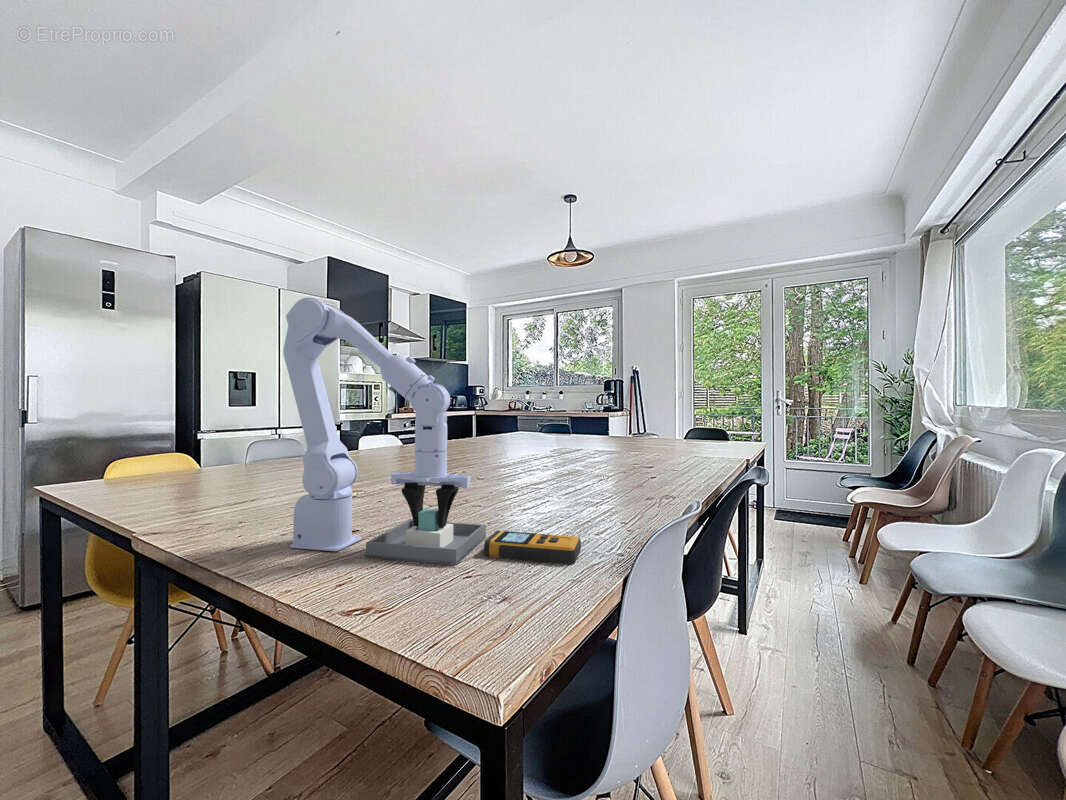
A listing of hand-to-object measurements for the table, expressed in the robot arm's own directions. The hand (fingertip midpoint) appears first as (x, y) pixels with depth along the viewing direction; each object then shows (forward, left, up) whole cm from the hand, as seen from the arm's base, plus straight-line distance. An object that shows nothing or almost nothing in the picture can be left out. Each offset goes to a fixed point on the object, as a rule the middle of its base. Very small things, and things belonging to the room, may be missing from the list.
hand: (430, 525), depth 88 cm
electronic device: (+19, +1, -4) cm, 20 cm away
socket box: (0, 0, -4) cm, 4 cm away
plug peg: (0, 0, -3) cm, 3 cm away
